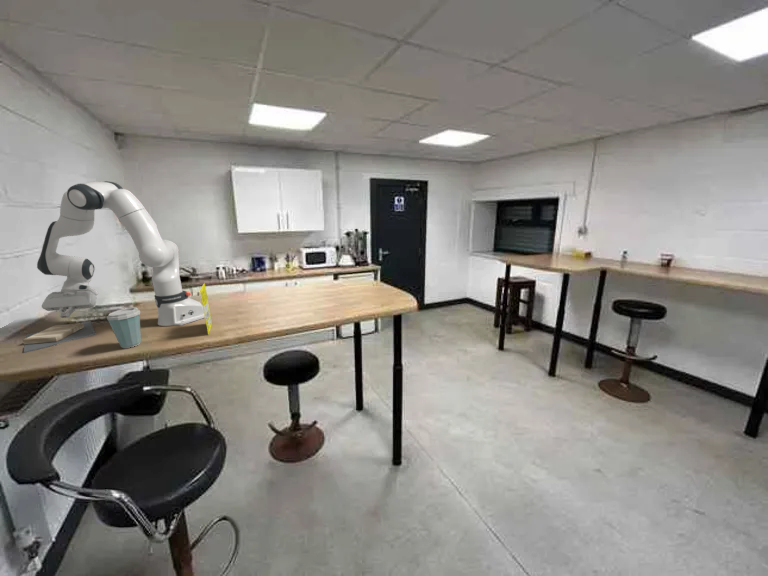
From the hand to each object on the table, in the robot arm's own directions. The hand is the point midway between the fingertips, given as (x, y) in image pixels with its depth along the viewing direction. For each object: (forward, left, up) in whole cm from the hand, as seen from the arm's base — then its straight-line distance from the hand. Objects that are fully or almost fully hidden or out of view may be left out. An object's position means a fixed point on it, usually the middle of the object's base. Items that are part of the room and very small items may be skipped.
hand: (64, 317), depth 148 cm
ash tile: (0, -1, -5) cm, 5 cm away
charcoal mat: (+3, +5, -7) cm, 9 cm away
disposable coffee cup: (-17, +43, -7) cm, 47 cm away
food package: (-45, +50, -7) cm, 68 cm away
